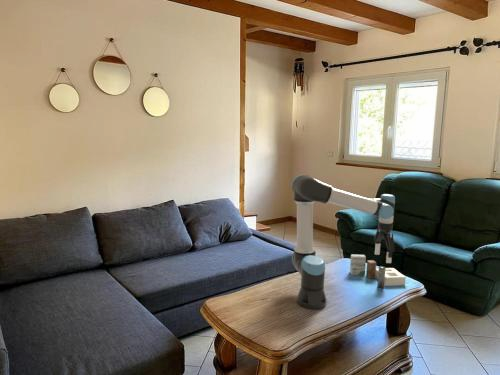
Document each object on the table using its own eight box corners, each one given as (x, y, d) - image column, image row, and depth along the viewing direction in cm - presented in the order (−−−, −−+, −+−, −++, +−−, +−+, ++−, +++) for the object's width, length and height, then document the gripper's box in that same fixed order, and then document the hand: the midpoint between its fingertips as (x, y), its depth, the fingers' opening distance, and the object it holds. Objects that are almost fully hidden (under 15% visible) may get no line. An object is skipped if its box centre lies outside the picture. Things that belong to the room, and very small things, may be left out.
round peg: (378, 288, 206) (380, 268, 204) (376, 286, 210) (377, 266, 208) (384, 288, 206) (386, 268, 205) (381, 286, 210) (383, 266, 208)
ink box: (363, 272, 230) (364, 254, 228) (365, 275, 225) (366, 257, 223) (349, 271, 231) (350, 253, 229) (350, 274, 226) (352, 256, 224)
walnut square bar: (368, 278, 221) (370, 262, 219) (366, 275, 225) (367, 260, 223) (375, 278, 221) (376, 262, 220) (372, 275, 225) (373, 260, 223)
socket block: (385, 285, 210) (386, 277, 210) (374, 276, 224) (375, 268, 223) (404, 285, 212) (405, 276, 211) (392, 275, 226) (393, 267, 225)
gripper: (404, 227, 191) (400, 266, 194) (381, 216, 215) (378, 251, 218) (390, 228, 190) (387, 266, 193) (369, 216, 214) (366, 251, 217)
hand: (382, 258), depth 206 cm, fingers open, 13 cm apart
